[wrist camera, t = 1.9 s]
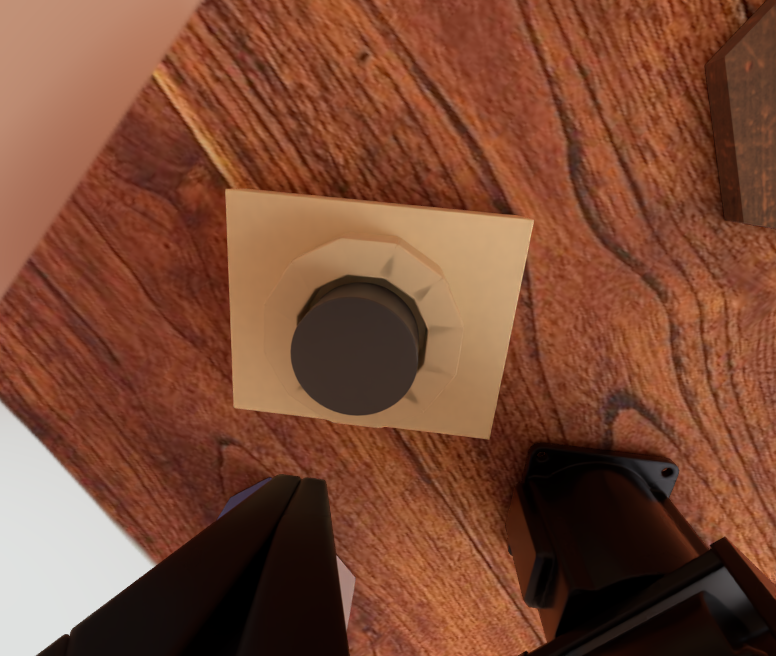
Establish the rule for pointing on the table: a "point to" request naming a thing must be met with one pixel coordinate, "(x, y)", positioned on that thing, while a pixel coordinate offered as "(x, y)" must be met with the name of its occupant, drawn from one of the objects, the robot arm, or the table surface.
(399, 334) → the button
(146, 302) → the table surface
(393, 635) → the table surface
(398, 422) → the button box
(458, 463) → the table surface
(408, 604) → the table surface
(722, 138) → the robot figurine
